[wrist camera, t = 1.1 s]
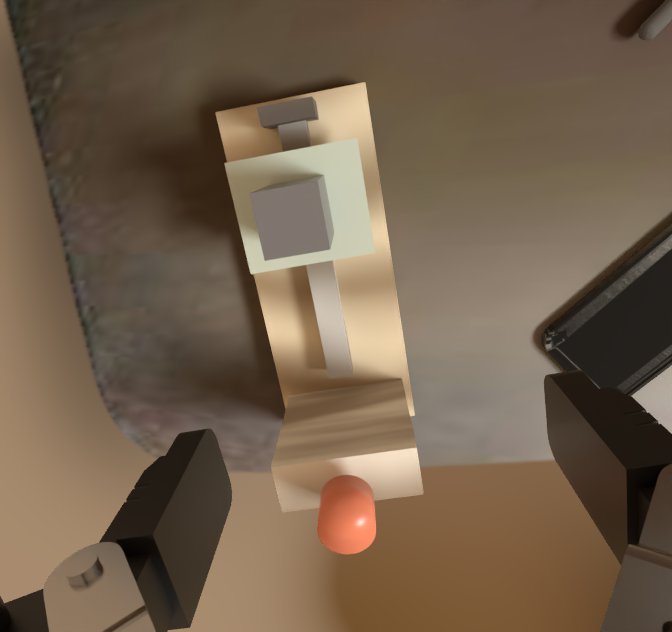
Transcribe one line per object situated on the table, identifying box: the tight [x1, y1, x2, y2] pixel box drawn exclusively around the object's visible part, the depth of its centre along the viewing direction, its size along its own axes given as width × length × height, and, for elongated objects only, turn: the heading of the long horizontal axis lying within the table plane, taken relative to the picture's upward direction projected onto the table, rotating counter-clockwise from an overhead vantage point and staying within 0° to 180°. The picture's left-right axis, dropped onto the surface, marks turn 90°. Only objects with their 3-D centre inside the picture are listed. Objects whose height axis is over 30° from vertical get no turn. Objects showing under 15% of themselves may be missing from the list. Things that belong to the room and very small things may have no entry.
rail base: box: [215, 82, 423, 512], centre depth 29 cm, size 22×9×10 cm, turn 10°
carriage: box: [224, 138, 375, 274], centre depth 26 cm, size 6×7×8 cm
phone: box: [542, 223, 672, 396], centre depth 34 cm, size 8×1×15 cm
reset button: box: [317, 475, 376, 554], centre depth 25 cm, size 3×3×2 cm
